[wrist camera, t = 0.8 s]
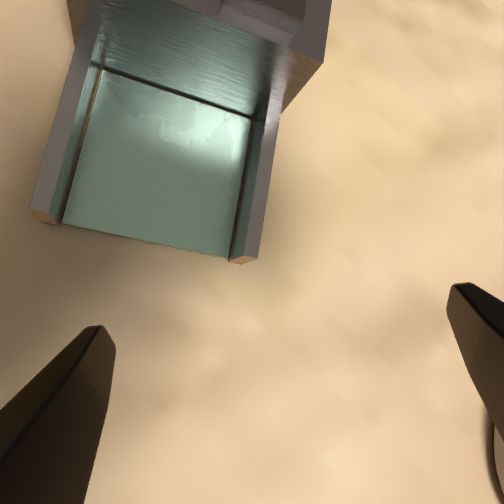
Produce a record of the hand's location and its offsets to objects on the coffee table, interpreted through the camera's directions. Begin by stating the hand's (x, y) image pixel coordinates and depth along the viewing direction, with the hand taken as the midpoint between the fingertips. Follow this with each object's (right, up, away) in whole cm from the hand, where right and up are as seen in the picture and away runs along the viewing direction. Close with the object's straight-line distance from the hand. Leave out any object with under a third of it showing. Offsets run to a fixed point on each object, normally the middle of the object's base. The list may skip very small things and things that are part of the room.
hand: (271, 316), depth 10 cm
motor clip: (-5, +9, +13) cm, 16 cm away
